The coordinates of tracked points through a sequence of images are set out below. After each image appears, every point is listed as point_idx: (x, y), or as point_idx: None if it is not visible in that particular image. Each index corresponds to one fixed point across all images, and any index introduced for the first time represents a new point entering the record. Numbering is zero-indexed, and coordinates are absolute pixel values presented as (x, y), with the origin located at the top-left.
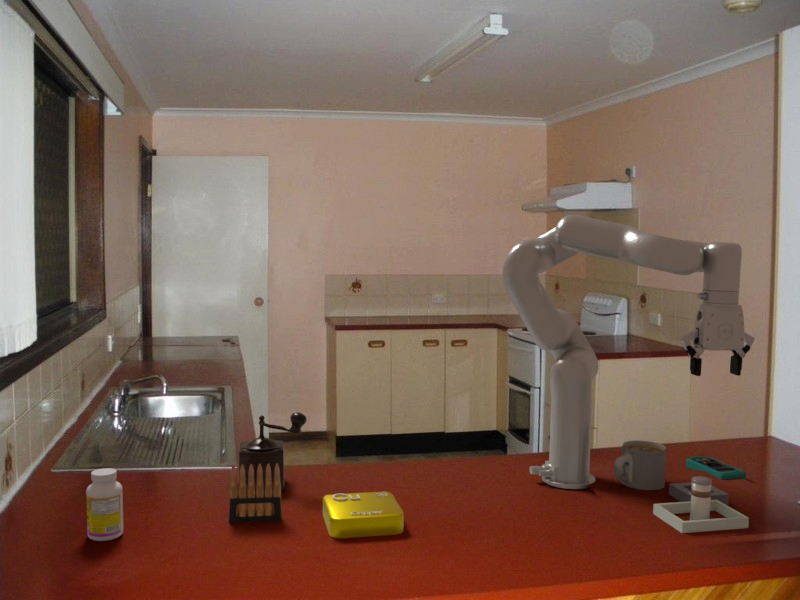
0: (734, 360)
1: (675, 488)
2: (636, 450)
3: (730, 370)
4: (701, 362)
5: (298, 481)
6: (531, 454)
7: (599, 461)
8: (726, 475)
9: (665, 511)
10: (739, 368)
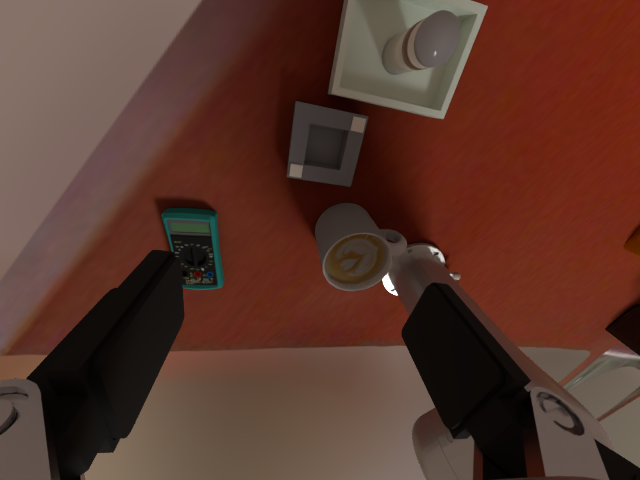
0: (131, 378)
1: (354, 168)
2: (390, 247)
3: (177, 327)
4: (482, 350)
5: (605, 320)
6: (376, 344)
7: (323, 315)
8: (205, 214)
9: (459, 76)
10: (143, 280)
